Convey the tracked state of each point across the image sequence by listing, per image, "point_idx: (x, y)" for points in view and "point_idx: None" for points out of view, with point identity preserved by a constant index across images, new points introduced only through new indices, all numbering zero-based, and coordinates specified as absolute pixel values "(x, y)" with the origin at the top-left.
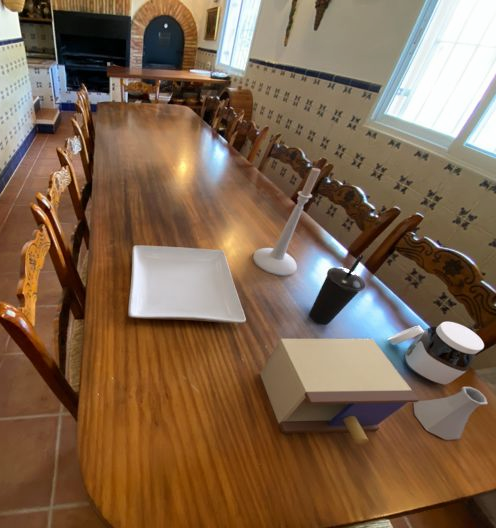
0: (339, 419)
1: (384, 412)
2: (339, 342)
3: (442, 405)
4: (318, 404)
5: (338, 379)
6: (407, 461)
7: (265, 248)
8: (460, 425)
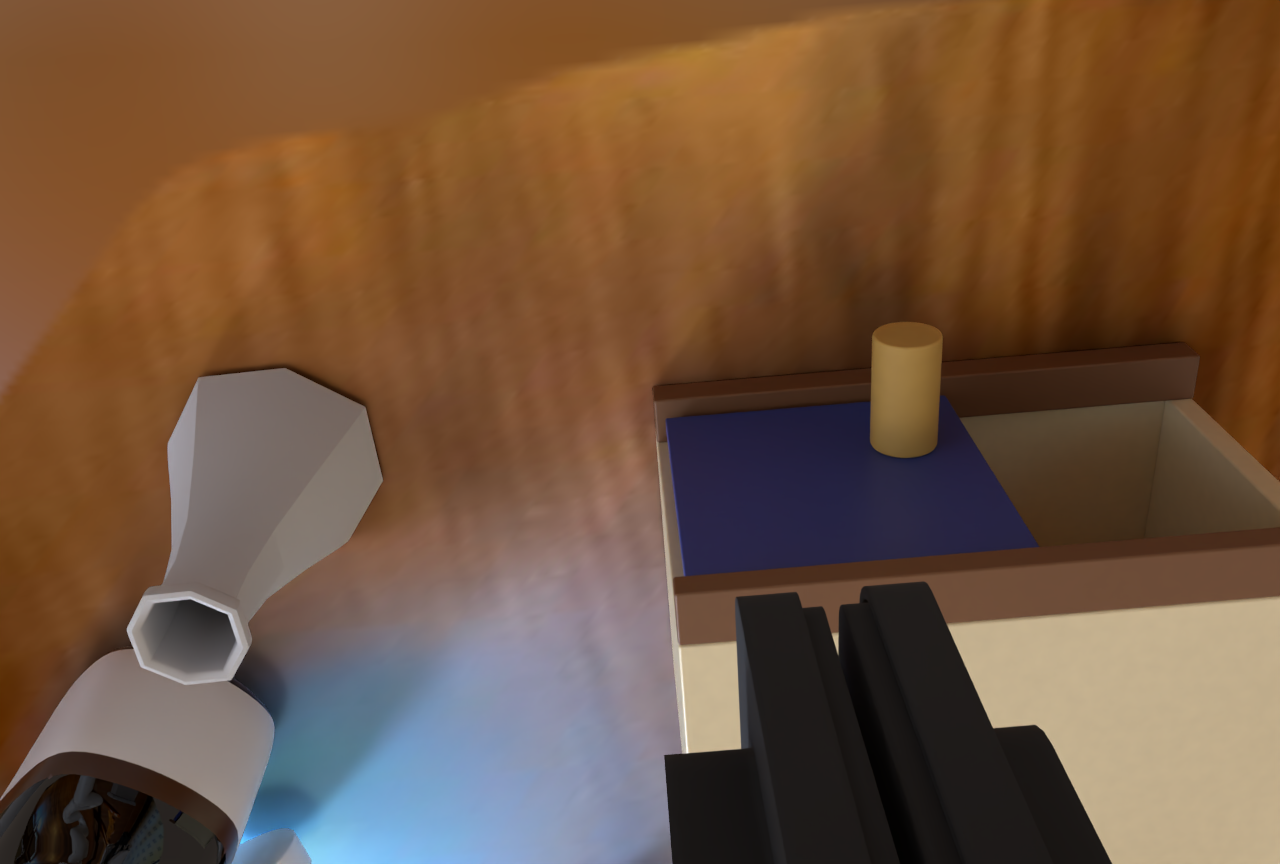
0: (954, 433)
1: (741, 492)
2: None
3: (302, 549)
4: None
5: (1124, 671)
6: (567, 252)
7: None
8: (223, 449)
